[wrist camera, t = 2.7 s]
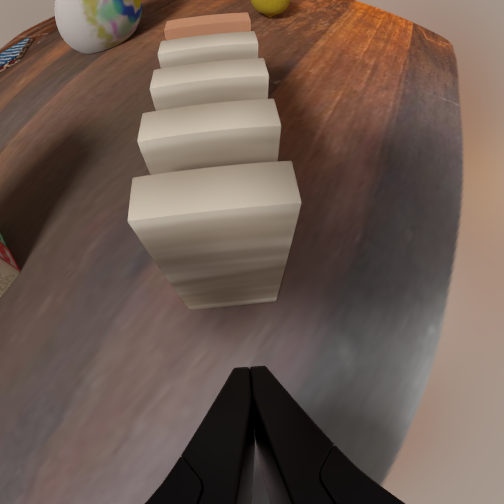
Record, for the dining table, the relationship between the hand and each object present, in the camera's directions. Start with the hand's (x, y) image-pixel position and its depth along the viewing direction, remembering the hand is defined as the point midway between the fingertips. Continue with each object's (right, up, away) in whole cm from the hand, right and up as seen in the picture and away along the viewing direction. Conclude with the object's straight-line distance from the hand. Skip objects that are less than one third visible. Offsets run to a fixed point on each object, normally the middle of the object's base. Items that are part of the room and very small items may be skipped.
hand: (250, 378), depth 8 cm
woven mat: (-48, +41, +29) cm, 69 cm away
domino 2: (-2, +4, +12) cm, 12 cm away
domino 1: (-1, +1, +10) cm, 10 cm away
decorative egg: (-21, +34, +25) cm, 47 cm away
